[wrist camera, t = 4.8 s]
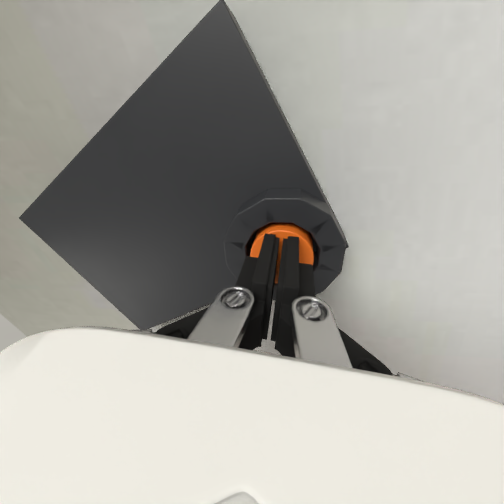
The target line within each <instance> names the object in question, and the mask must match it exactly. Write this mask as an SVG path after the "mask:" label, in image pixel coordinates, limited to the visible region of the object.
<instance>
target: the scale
mask: <svg viewBox="0 0 504 504" xmlns="http://www.w3.org/2000/svg"><path fill="white" fill-rule="evenodd" d="M19 219H20V220H21V221H23V222H24V223H25V224H26V225H27V226H28V227H29V228H30V229H31V230H32V231H33V232H35V233H36V234H37V235H38V236H39V237H40V238H41V239H42V240H43V241H44V242H45V243H46V244H48V245H49V246H50V247H51V248H52V249H53V250H54V251H55V252H56V253H57V254H58V255H60V256H61V257H62V258H63V259H64V260H65V261H66V262H67V263H68V264H69V265H70V266H71V267H73V268H74V269H75V270H76V271H77V272H78V273H79V274H80V275H81V276H82V277H83V278H85V279H86V280H87V281H88V282H89V283H90V284H91V285H92V286H93V287H94V288H95V289H97V290H98V291H99V292H100V293H101V294H102V295H103V296H104V297H105V298H106V299H107V300H108V301H110V302H111V303H112V304H113V305H114V306H115V307H116V308H117V309H118V310H119V311H120V312H122V313H123V314H124V315H125V316H126V317H127V318H128V319H129V320H130V321H131V322H132V323H133V324H135V325H136V326H137V327H138V328H139V329H140V330H147V329H149V328H152V327H154V326H156V325H159V324H161V323H164V322H166V321H169V320H171V319H174V318H176V317H179V316H181V315H183V314H186V313H188V312H191V311H193V310H196V309H198V308H201V307H203V306H206V305H208V304H210V303H212V302H213V300H214V299H215V297H216V296H217V295H218V293H219V292H220V291H221V290H223V289H224V288H226V287H230V286H235V285H236V282H237V280H238V277H239V274H240V271H241V269H242V266H243V263H244V260H245V258H246V256H249V257H250V252H251V248H252V245H253V242H254V239H255V237H256V234H257V232H258V230H259V229H260V228H261V227H263V226H265V225H267V224H269V223H271V222H278V223H294V224H296V225H297V226H299V227H301V228H303V229H305V230H306V231H308V232H309V233H310V235H311V238H312V243H313V253H314V262H313V265H312V266H313V275H314V285H315V295H316V294H318V293H321V292H323V291H324V290H325V289H326V288H327V287H328V285H329V284H330V283H331V282H332V281H333V280H334V279H335V278H336V277H337V276H338V275H339V274H340V272H341V270H342V265H343V259H344V253H345V249H346V248H348V244H347V241H346V238H345V235H344V233H343V231H342V229H341V227H340V225H339V223H338V221H337V219H336V217H335V215H334V213H333V211H332V209H331V207H330V205H329V203H328V201H327V199H326V197H325V195H324V193H323V191H322V189H321V187H320V185H319V183H318V181H317V179H316V177H315V175H314V173H313V171H312V169H311V167H310V165H309V163H308V161H307V159H306V157H305V155H304V153H303V151H302V149H301V147H300V145H299V143H298V141H297V139H296V137H295V135H294V134H293V132H292V130H291V128H290V126H289V124H288V122H287V120H286V118H285V116H284V114H283V112H282V110H281V108H280V106H279V104H278V102H277V100H276V98H275V96H274V94H273V92H272V90H271V88H270V86H269V84H268V82H267V80H266V78H265V76H264V74H263V72H262V70H261V68H260V66H259V64H258V62H257V60H256V58H255V56H254V54H253V52H252V50H251V48H250V46H249V44H248V42H247V40H246V38H245V36H244V34H243V32H242V30H241V29H240V27H239V25H238V23H237V21H236V19H235V17H234V15H233V14H232V12H231V11H230V9H229V8H228V6H227V5H226V3H225V2H224V0H220V1H219V2H218V3H217V4H216V5H215V6H214V7H213V8H212V9H211V10H210V11H209V12H208V14H207V15H206V16H205V17H204V18H203V19H202V20H201V21H200V22H199V23H198V24H197V25H196V27H195V28H194V29H193V30H192V31H191V32H190V33H189V34H188V35H187V36H186V37H185V38H184V40H183V41H182V42H181V43H180V44H179V45H178V46H177V47H176V48H175V49H174V50H173V51H172V53H171V54H170V55H169V56H168V57H167V58H166V59H165V60H164V61H163V62H162V63H161V64H160V66H159V67H158V68H157V69H156V70H155V71H154V72H153V73H152V74H151V75H150V76H149V78H148V79H147V80H146V81H145V82H144V83H143V84H142V85H141V86H140V87H139V88H138V89H137V91H136V92H135V93H134V94H133V95H132V96H131V97H130V98H129V99H128V100H127V101H126V102H125V104H124V105H123V106H122V107H121V108H120V109H119V110H118V111H117V112H116V113H115V114H114V115H113V117H112V118H111V119H110V120H109V121H108V122H107V123H106V124H105V125H104V126H103V127H102V128H101V130H100V131H99V132H98V133H97V134H96V135H95V136H94V137H93V138H92V139H91V140H90V141H89V143H88V144H87V145H86V146H85V147H84V148H83V149H82V150H81V151H80V152H79V153H78V154H77V156H76V157H75V158H74V159H73V160H72V161H71V162H70V163H69V164H68V165H67V166H66V167H65V169H64V170H63V171H62V172H61V173H60V174H59V175H58V176H57V177H56V178H55V179H54V180H53V182H52V183H51V184H50V185H49V186H48V187H47V188H46V189H45V190H44V191H43V192H42V193H41V195H40V196H39V197H38V198H37V199H36V200H35V201H34V202H33V203H32V204H31V205H30V206H29V208H28V209H27V210H26V211H25V212H24V213H23V214H22V215H21V216H20V217H19ZM277 284H278V283H274V291H273V298H272V300H276V293H277Z"/></svg>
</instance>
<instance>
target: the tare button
mask: <svg viewBox="0 0 504 504" xmlns="http://www.w3.org/2000/svg"><path fill="white" fill-rule="evenodd" d="M265 233H267V234H275V235H276V237H277V238H280V240H279V249H278V257H277V266H276V275H275V283H278V276H279V268H280V260H281V252H282V244H283V238H285V239H287V238H288V236H293V237H299V263H304V264H312V265H313V262H314V253H313V243H312V238H311V235H310V233H309V232H308V231H306V230H305V229H303V228H301V227H299V226H297V225H296V224H294V223H278V222H271V223H269V224H267V225H265V226H263V227H261V228H260V229H259V230H258V232H257V234H256V237H255V239H254V242H253V245H252V248H251V252H250V257H257V258H258V257H259V253H260V250H261V246H262V242H263V239H264V235H265Z"/></svg>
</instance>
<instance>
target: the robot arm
mask: <svg viewBox="0 0 504 504" xmlns="http://www.w3.org/2000/svg"><path fill="white" fill-rule="evenodd" d="M279 240H280V238H277V237H276V235H275V234H267V233H265V235H264V239H263V242H262V246H261V250H260V253H259V257H258V258H257V257H249V256H246V258H245V260H244V263H243V266H242V269H241V271H240V274H239V277H238V280H237V282H236V285H235V286H230V287H226V288H224V289H223V290H221V291H220V292H219V293H218V295H217V296H216V297H215V299H214V300H213V302H212V303H211V305H210V306H209V308H206V309H204V310H202V311H199V312H197V313H195V314H192V315H190V316H188V317H185V318H183V319H181V320H178V321H176V322H174V323H172V324H169V325H167V326H165V327H163V328H161V329H159V330H158V331H157V332H152V329H148V330H126V329H118V328H110V327H94V326H81V327H67V328H60V329H53V330H49V331H44V332H41V333H37V334H34V335H31V336H28V337H26V338H24V339H21V340H20V341H18V342H16V343H14V344H12V345H11V346H9V347H8V348H6V349H4V350H3V351H1V352H0V504H504V404H501V403H499V402H496V401H493V400H490V399H488V398H485V397H482V396H479V395H475V394H472V393H468V392H465V391H462V390H458V389H454V388H449V387H445V386H440V385H436V384H431V383H427V382H424V381H421V380H418V379H416V378H413V377H410V376H407V375H405V374H402V373H399V372H398V374H397V375H394V374H392V373H391V371H390V370H389V369H388V368H387V367H386V366H385V365H384V364H383V363H382V362H380V361H379V360H378V359H377V358H375V357H374V356H373V355H372V354H370V353H369V352H368V351H367V350H365V349H364V348H363V347H362V346H360V345H359V344H358V343H357V342H355V341H354V340H353V339H352V338H350V337H349V336H348V335H347V334H345V333H344V332H343V331H342V330H340V329H339V328H338V327H337V324H336V322H335V319H334V316H333V314H332V311H331V309H330V307H329V306H328V305H327V304H326V303H325V302H324V301H322V300H321V299H319V298H316V296H315V285H314V275H313V266H312V264H304V263H299V237H293V236H288V238H287V239H285V238H283V244H282V252H281V260H280V268H279V276H278V284H277V293H276V301H275V309H274V318H273V326H272V334H271V341H276V342H275V349H277V350H278V351H279V352H280V354H281V355H282V356H281V355H276V354H270V353H264V352H259V351H253V349H255V348H256V347H258V346H259V347H261V342H262V339H266V340H267V334H268V327H269V320H270V313H271V305H272V298H273V291H274V283H275V275H276V266H277V257H278V249H279Z"/></svg>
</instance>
